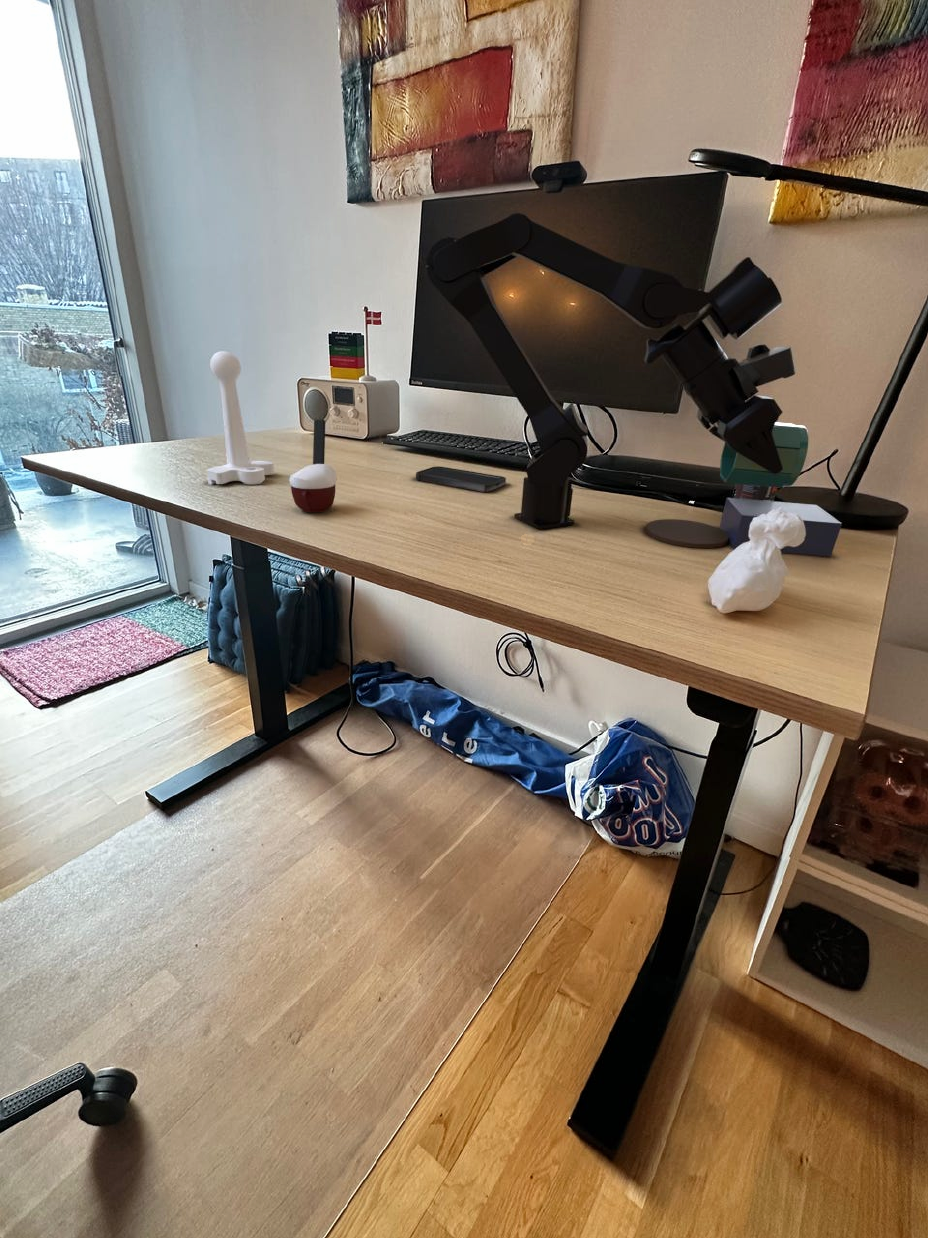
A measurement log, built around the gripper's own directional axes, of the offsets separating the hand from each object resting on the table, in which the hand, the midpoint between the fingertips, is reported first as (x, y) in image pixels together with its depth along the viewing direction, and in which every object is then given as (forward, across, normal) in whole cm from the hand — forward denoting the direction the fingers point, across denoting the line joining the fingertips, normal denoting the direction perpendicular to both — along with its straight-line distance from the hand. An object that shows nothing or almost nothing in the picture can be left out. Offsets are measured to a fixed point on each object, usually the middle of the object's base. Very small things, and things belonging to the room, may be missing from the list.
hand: (769, 465), depth 75 cm
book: (+9, 0, +5) cm, 11 cm away
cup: (+1, 0, +3) cm, 3 cm away
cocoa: (-35, -4, +51) cm, 62 cm away
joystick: (-48, +8, +64) cm, 81 cm away
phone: (-24, +19, +39) cm, 49 cm away
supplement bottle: (+10, +15, +5) cm, 19 cm away
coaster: (+1, 0, +13) cm, 13 cm away
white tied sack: (+3, -23, +12) cm, 26 cm away
